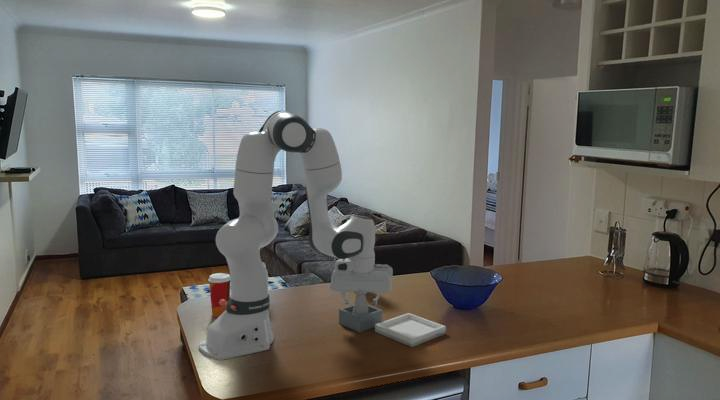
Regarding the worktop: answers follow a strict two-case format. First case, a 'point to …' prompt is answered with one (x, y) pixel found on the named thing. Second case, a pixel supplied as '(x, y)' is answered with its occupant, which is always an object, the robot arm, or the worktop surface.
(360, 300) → the salt shaker
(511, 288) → the worktop surface
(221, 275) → the paper cup
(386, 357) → the worktop surface
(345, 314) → the hollow square frame
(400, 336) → the tray
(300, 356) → the worktop surface
